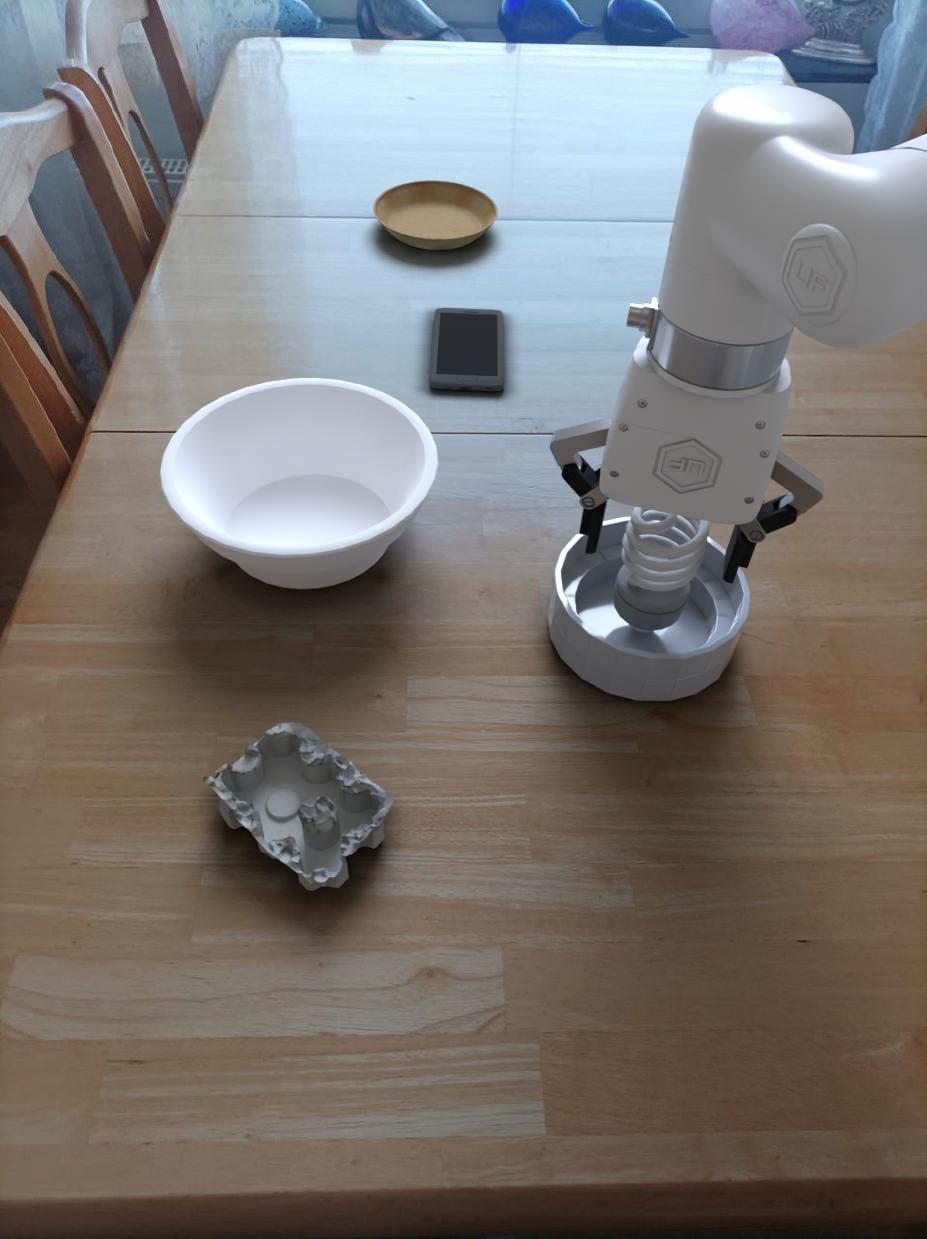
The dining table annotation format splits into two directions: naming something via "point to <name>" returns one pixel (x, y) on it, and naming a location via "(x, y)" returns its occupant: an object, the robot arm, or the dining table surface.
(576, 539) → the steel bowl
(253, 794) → the egg carton
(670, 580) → the light bulb
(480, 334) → the cell phone
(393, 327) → the dining table surface
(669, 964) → the dining table surface
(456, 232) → the plant saucer
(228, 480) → the bowl
